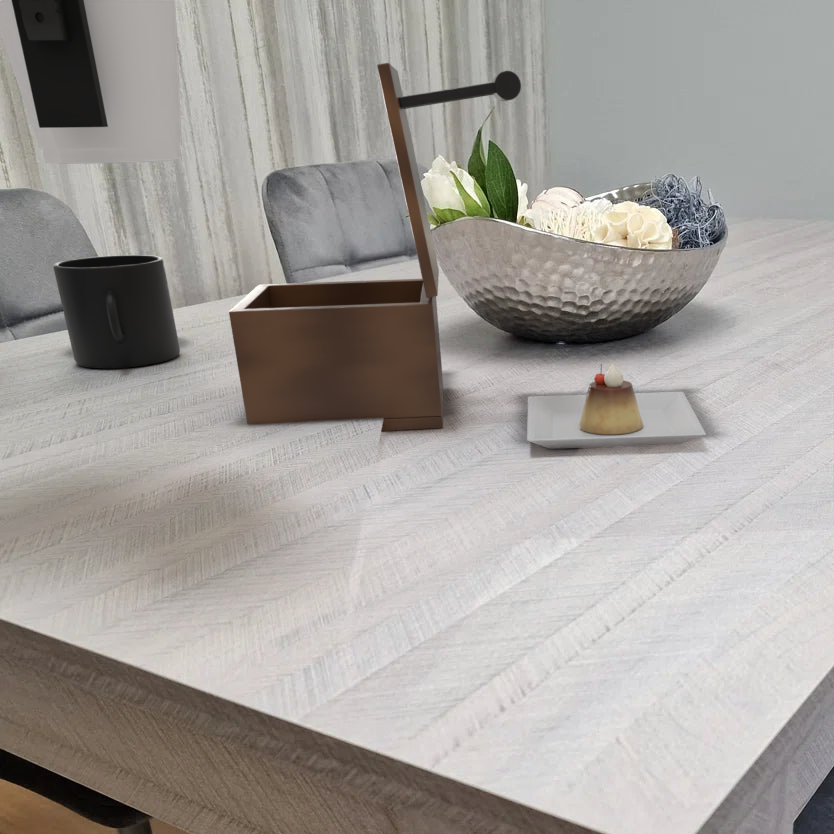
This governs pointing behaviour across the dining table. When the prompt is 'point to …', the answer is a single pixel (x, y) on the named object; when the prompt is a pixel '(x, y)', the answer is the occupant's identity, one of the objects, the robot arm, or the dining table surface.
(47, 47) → the robot arm
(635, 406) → the dessert
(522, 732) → the dining table surface
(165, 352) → the mug
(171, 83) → the foam cup
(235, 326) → the basket
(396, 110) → the wooden box lid
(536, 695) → the dining table surface
